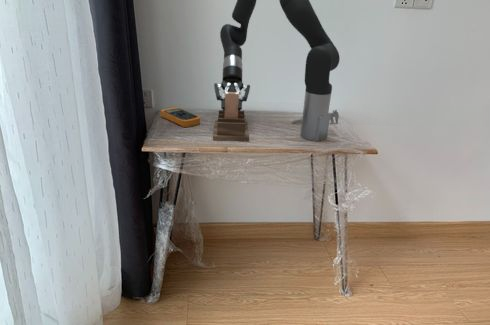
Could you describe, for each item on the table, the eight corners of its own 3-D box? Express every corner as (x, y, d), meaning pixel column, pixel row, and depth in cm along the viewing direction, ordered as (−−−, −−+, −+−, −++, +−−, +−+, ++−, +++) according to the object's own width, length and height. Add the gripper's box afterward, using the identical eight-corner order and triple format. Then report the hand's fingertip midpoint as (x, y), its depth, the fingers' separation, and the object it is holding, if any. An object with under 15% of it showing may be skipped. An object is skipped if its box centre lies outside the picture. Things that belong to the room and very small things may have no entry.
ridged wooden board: (215, 123, 147) (215, 108, 144) (247, 124, 148) (247, 109, 145) (212, 140, 130) (213, 124, 127) (249, 141, 130) (249, 125, 128)
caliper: (336, 123, 155) (338, 109, 152) (337, 124, 154) (339, 110, 151) (290, 123, 152) (291, 108, 149) (290, 124, 151) (292, 109, 148)
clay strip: (224, 120, 138) (225, 91, 133) (237, 120, 138) (238, 92, 134) (224, 122, 136) (225, 93, 131) (237, 122, 136) (238, 94, 131)
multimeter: (184, 129, 140) (184, 120, 138) (160, 117, 152) (159, 109, 150) (202, 125, 145) (202, 116, 144) (177, 114, 157) (177, 106, 156)
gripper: (213, 63, 135) (211, 104, 129) (251, 65, 136) (251, 105, 130) (214, 75, 142) (212, 113, 136) (250, 76, 143) (250, 115, 137)
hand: (231, 109), depth 133 cm, fingers closed on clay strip, 5 cm apart
